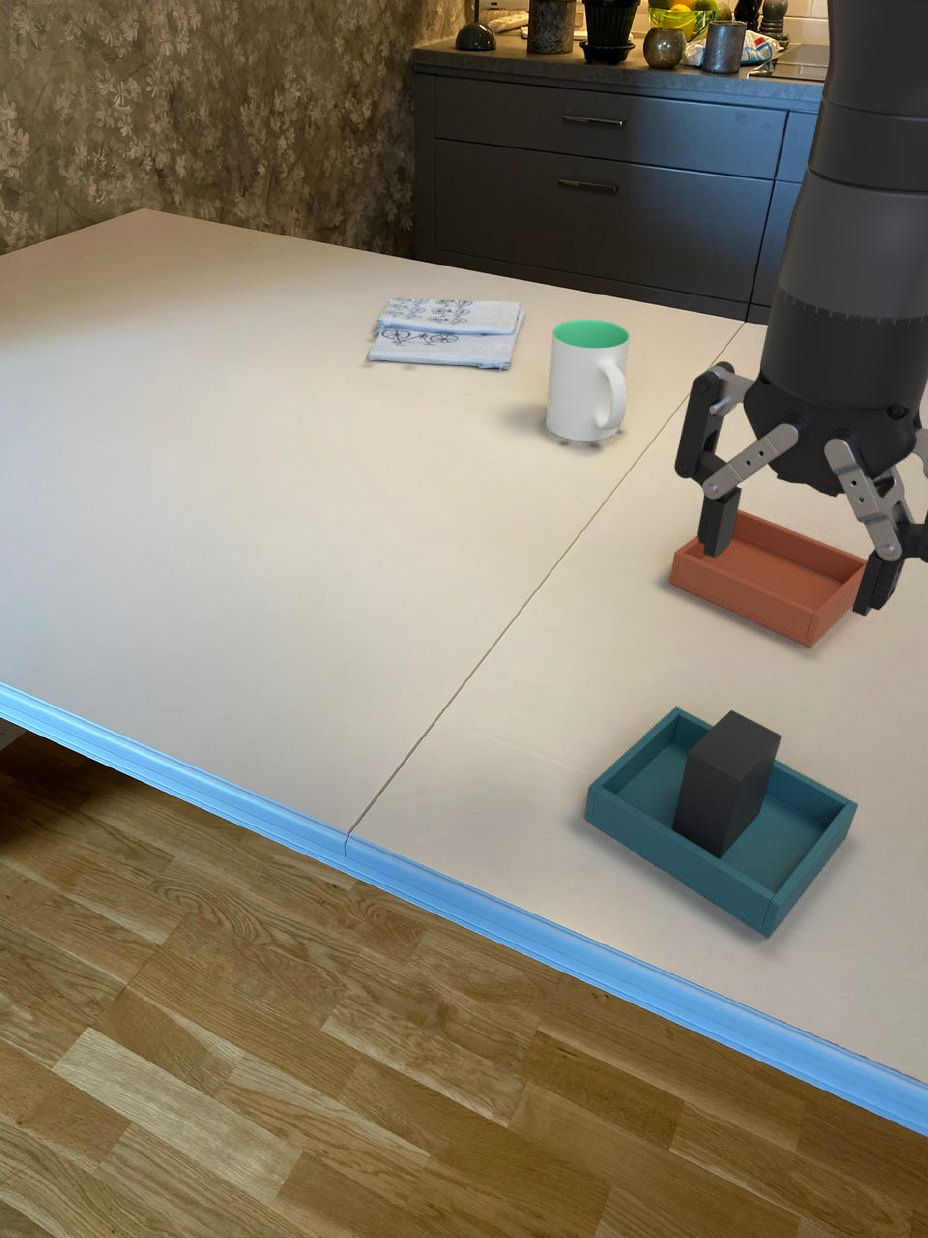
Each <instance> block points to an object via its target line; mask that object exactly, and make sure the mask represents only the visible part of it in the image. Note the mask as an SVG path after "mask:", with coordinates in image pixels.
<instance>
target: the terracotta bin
mask: <svg viewBox="0 0 928 1238" xmlns="http://www.w3.org/2000/svg"><path fill="white" fill-rule="evenodd" d="M703 550H704V544H702V543H699V541H698V536H697V535H696V536H694V537H693V538H692V539H691V540H689V541H688V542H687V543H685V544H684V545H682V546H681V547H680V548H679V549H677V550H676V551H674V553H673V558H672V563H671V570H670V574H669V575H670V576H669V581H668V582H669V584H672V585H675V586H676V587H678V588H681V589H682V590H684V591H686V592H689V593H691V594H693V595H695V596H698V597H700V598H701V599H704V600H707V601H708V602H711V603H713V604H715V605H717V606H719V607H721V608H724V609H726V610H728V611H730V612H732V613H735V614H736V615H739V616H741V617H743V618H745V619H747V620H749V621H752V622H753V623H756V624H758V625H760V626H762V627H765V628H767V629H769V630H771V631H773V632H775V633H777V634H780V635H782V636H784V637H786V638H788V639H791V640H793V641H795V642H797V643H799V644H801V645H804V646H806V647H808V648H812V647H813V646H814V645H815V644H816V643H817V642H818V641H819V640H820V639H821V638H822V637H823V636H824V635H825V634H826V633H827V632H828V631H829V630H830V629H831V628H832V627H833V626H834V625H835V624H836V623H837V622H838V621H839V620H840V619H841V618H842V617H844V615H845V614H846V613H847V612H848V611H849V610H850V609H852V608H853V605H854V602H855V599H856V595H857V592H858V589H859V586H860V583H861V580H862V576H863V573H864V570H865V567H866V564H867V561H868V559H865V558H863V557H860V556H857V555H854V554H852V553H850V552H847V551H846V550H842V549H840V548H838V547H834V546H832V545H829V544H828V543H825V542H822V541H819V540H817V539H814V538H813V537H810V536H807V535H806V534H805V535H804V534H802V533H800V532H797V531H794V530H792V529H790V528H787V527H786V526H785V527H784V526H782V525H779V524H777V523H774V522H772V521H770V520H767V519H764V518H762V517H760V516H757V515H754V514H752V513H749V512H747V511H744V510H742V509H739V508H738V511H737V516H736V520H735V525H734V530H733V535H732V539H731V542H730V544H729V546H728V547H727V549H726V550H725V551H724V552H723V553H721V554H720V555H719V556H718V557H717V558H716V559H715V558H712V557H709V556H707V555H704V554H703Z"/></svg>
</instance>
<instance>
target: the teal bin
mask: <svg viewBox="0 0 928 1238" xmlns="http://www.w3.org/2000/svg"><path fill="white" fill-rule="evenodd" d="M714 726H715V725H712V724H711V723H708V722H706V721H705V720H703V719H701V718H699V717H697V716H696V715H693V714H692V713H690V712H688V711H686V710H684V709H682V708H680V706H679V707H678V706H675V707H673V708H672V709H671V710H670V711H669V712H668V713H667V714H666V715H664V717H663V718H661V719H660V720H659V721H658V722H657V723H656V724H655V725H654V726H653V727H652V728H650V729H649V730H648V732H646V733H645V734H644V735H643V736H642V737H641V738H640V739H639V740H637V741H636V742H635V743H634V744H633V745H632V746H631V747H629V749H628V750H627V751H626V752H625V753H623V754H622V755H621V756H620V757H619V758H618V759H617V760H616V761H615V762H614V763H613V764H611V765H610V766H609V767H608V768H607V769H606V770H605V771H604V772H603V773H602V774H600V776H598V777H597V778H596V779H595V780H594V781H593V782H591V784H590V785H589V786H588V788H587V796H586V802H585V809H584V810H585V811H584V818H583V819H584V820H585V821H586V822H588V823H589V824H591V825H592V826H594V827H595V828H597V829H599V830H600V831H601V832H603V833H605V834H607V835H608V836H609V837H611V838H612V839H613V840H616V841H617V842H619V843H620V844H622V845H623V846H625V847H627V848H628V849H630V850H631V851H632V852H634V853H636V854H637V855H638V856H640V857H642V858H643V859H646V861H648V862H650V863H651V864H653V865H654V866H656V867H658V868H659V869H661V870H662V871H664V872H665V873H667V874H668V875H669V876H671V877H673V878H674V879H676V880H677V881H679V882H680V883H683V884H684V886H687V887H688V888H690V889H691V890H693V891H694V892H696V893H697V894H699V895H701V896H702V897H704V898H705V899H707V900H708V901H710V902H712V903H713V904H715V905H716V906H717V907H719V908H721V909H722V910H723V911H725V912H727V913H729V914H730V915H732V916H733V917H735V918H736V919H737V920H739V921H741V922H742V923H744V924H745V925H747V926H748V927H750V928H752V929H753V930H755V931H756V932H758V933H759V934H760V935H763V936H764V937H766V938H767V939H770V938H771V937H772V936H773V934H774V933H775V932H776V931H777V929H778V928H779V927H780V925H781V924H782V922H783V921H784V920H785V918H786V917H787V916H788V915H789V914H790V912H791V911H792V909H793V908H794V907H795V906H796V904H797V903H798V902H799V900H800V899H801V897H802V896H803V895H804V893H805V892H806V891H807V890H808V888H809V887H810V885H811V884H812V883H813V882H814V880H815V879H816V877H817V876H818V875H819V874H820V872H821V871H822V870H823V869H824V867H825V866H826V865H827V863H828V862H829V861H830V859H831V858H832V856H833V855H834V854H835V853H836V851H837V850H838V849H839V847H840V846H841V845H842V843H843V842H844V841H845V839H846V838H847V837H848V834H849V831H850V828H851V826H852V824H853V820H854V818H855V815H856V813H857V810H858V807H859V803H857V802H855V801H853V800H852V799H849V798H847V797H846V796H844V795H842V794H840V793H838V792H836V791H835V790H833V789H831V788H829V787H827V786H826V785H823V784H822V783H820V782H818V781H816V780H814V779H813V778H811V777H808V776H807V775H805V774H803V773H801V772H799V771H797V770H795V769H794V768H792V767H791V766H788V765H787V764H784V763H783V762H781V761H779V760H777V759H775V762H774V765H773V769H772V772H771V775H770V779H769V782H768V786H767V789H766V793H765V796H764V799H763V803H762V806H761V810H760V813H759V815H758V816H757V817H756V818H755V819H754V821H753V822H752V823H751V824H750V825H749V826H748V828H747V829H746V830H745V831H744V832H743V833H742V834H741V836H740V837H739V838H738V839H737V840H736V841H735V842H734V844H733V845H732V846H731V847H730V848H729V849H728V850H727V852H726V853H725V854H724V855H723V856H722V857H721V858H720V859H719V858H717V857H715V856H714V855H712V854H710V853H709V852H707V851H706V850H704V849H702V848H701V847H699V846H698V845H696V844H694V843H693V842H691V841H689V840H688V839H686V838H685V837H683V836H681V835H680V834H678V833H676V832H675V831H673V830H672V826H673V822H674V817H675V812H676V807H677V803H678V798H679V793H680V789H681V784H682V779H683V775H684V770H685V765H686V761H687V756H688V751H689V750H690V749H691V748H692V747H693V746H694V745H695V744H696V743H697V742H699V741H700V740H701V739H702V738H703V737H704V736H705V735H706V734H707V733H708V732H709V731H710V730H711V729H712V728H713V727H714Z"/></svg>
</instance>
